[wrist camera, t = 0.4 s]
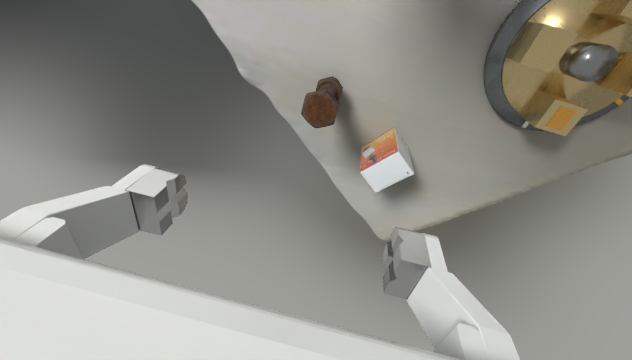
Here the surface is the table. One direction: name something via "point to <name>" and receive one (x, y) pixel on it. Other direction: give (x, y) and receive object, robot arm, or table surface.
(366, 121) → the table surface
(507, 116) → the base plate
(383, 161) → the small box
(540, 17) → the four-lug gold disc
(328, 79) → the bolt
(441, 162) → the table surface
